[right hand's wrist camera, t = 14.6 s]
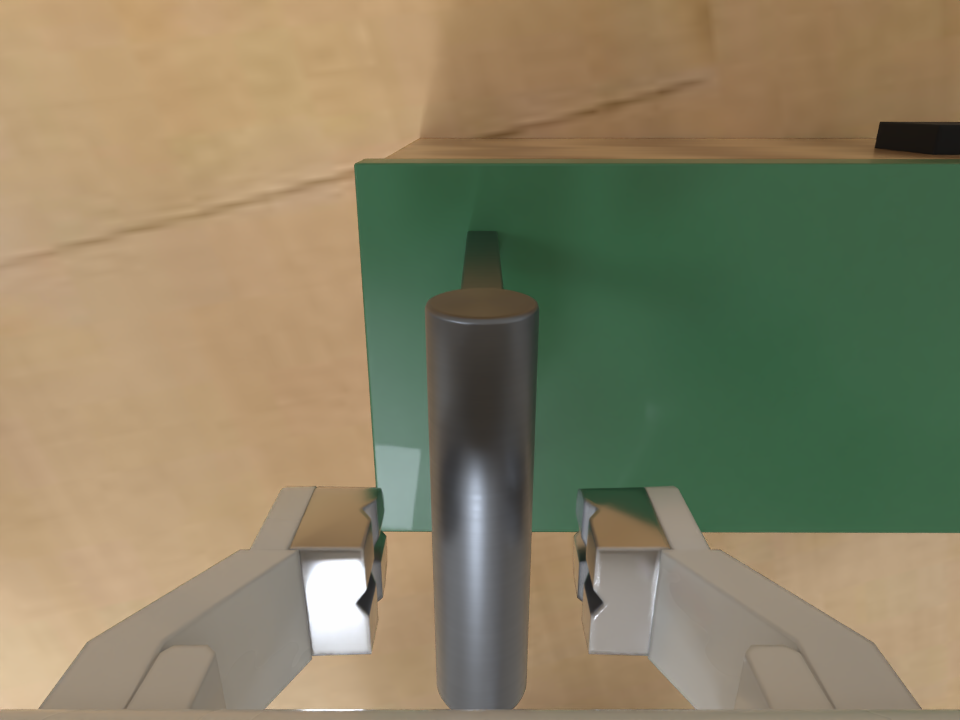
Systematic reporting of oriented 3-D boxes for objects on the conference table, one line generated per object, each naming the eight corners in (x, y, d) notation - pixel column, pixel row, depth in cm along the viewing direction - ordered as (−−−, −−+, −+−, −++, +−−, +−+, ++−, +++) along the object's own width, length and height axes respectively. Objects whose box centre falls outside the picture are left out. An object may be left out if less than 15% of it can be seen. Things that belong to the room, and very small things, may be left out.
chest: (425, 378, 28) (399, 505, 19) (417, 138, 25) (381, 158, 16) (821, 378, 28) (978, 506, 19) (872, 138, 25) (1094, 158, 16)
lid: (385, 506, 19) (319, 776, 12) (363, 158, 16) (245, 213, 8) (980, 507, 19) (1315, 780, 12) (1096, 158, 16) (1699, 214, 8)
